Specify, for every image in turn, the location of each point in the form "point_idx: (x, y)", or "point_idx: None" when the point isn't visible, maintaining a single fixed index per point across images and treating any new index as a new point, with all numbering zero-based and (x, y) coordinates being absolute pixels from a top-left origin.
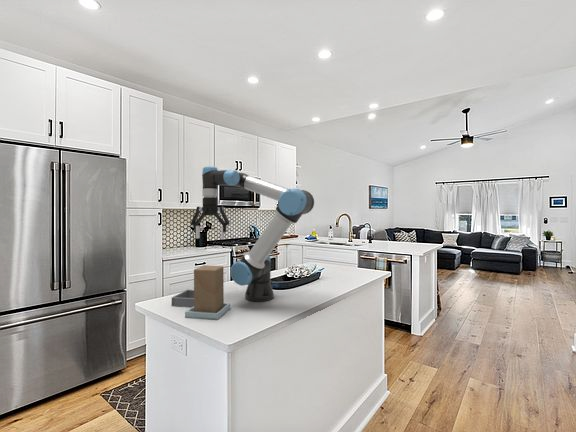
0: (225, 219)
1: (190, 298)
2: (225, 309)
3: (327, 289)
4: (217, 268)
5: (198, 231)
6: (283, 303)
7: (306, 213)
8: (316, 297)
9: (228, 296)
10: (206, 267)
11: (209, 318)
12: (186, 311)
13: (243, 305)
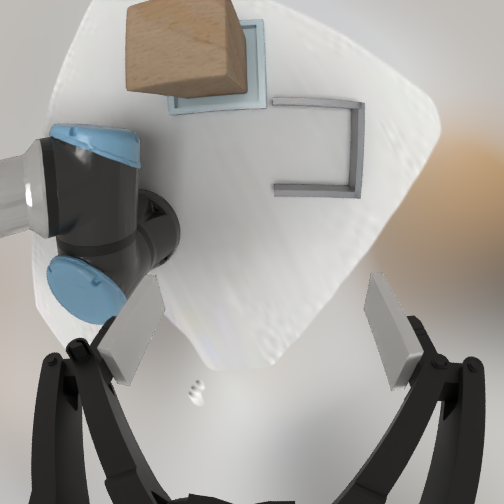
0: (42, 396)
1: (300, 101)
2: None
3: (59, 309)
4: (128, 35)
5: (383, 330)
6: None
7: None
8: (49, 255)
9: (230, 220)
10: (185, 32)
11: None
12: (260, 22)
13: (152, 151)
